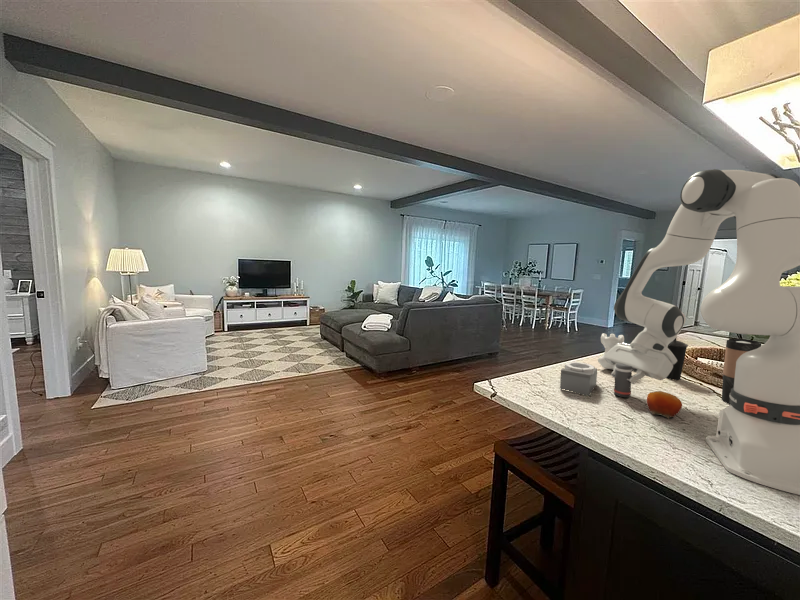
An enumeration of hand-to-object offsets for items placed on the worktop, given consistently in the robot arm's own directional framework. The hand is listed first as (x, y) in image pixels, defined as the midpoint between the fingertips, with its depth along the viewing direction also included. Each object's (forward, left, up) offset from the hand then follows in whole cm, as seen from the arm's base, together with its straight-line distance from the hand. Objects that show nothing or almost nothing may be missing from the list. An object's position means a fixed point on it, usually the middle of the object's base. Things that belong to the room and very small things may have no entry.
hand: (621, 379), depth 109 cm
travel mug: (+17, -29, -6) cm, 34 cm away
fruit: (-8, -11, -6) cm, 15 cm away
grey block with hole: (+1, +13, -6) cm, 14 cm away
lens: (+1, 0, -5) cm, 5 cm away
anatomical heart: (+32, +7, -6) cm, 33 cm away
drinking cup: (+34, -13, -6) cm, 37 cm away
